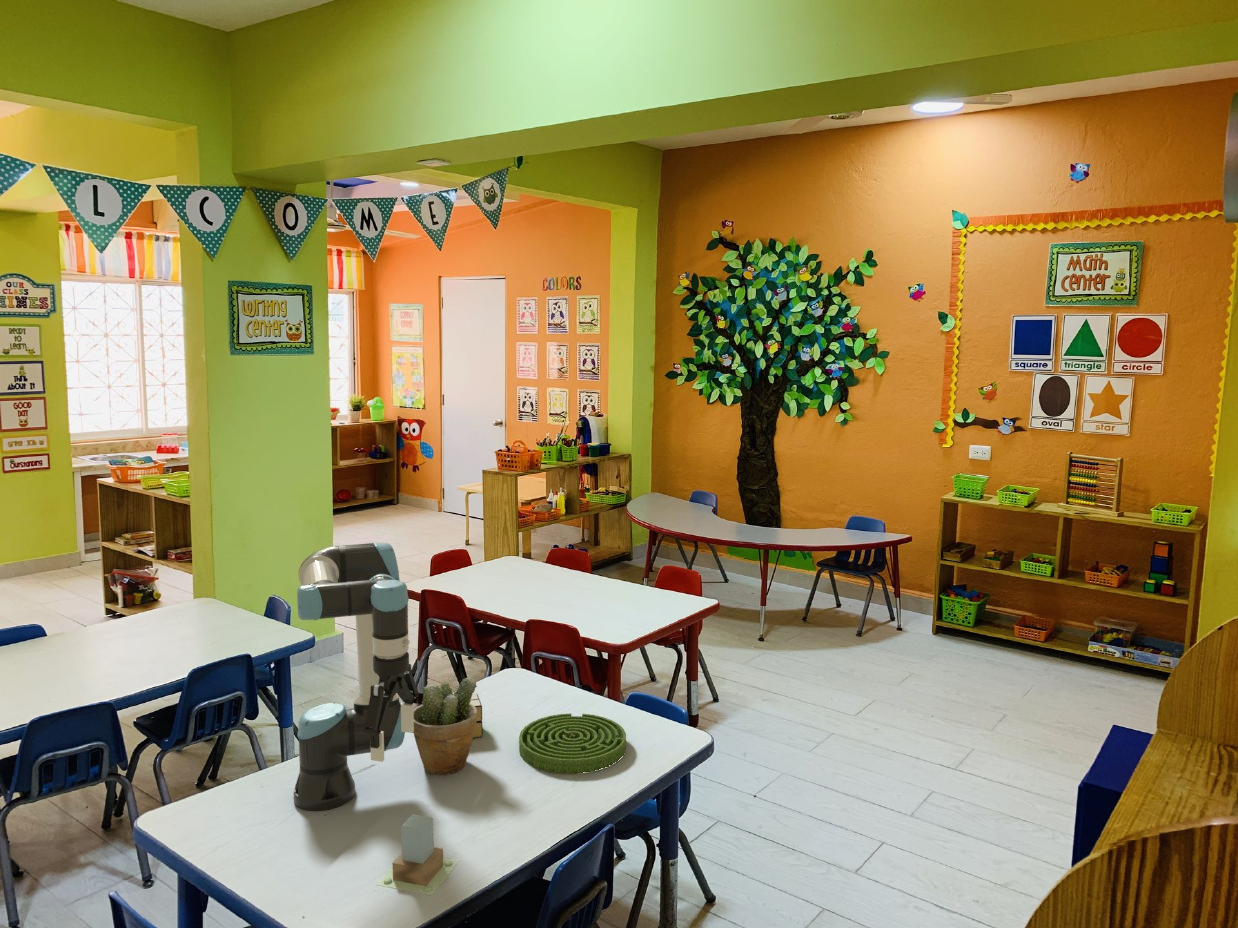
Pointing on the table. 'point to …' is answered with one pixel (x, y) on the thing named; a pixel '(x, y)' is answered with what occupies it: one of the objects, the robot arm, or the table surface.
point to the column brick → (417, 839)
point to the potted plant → (445, 726)
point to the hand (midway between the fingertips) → (393, 745)
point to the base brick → (418, 869)
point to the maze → (572, 743)
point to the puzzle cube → (477, 704)
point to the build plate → (428, 889)
